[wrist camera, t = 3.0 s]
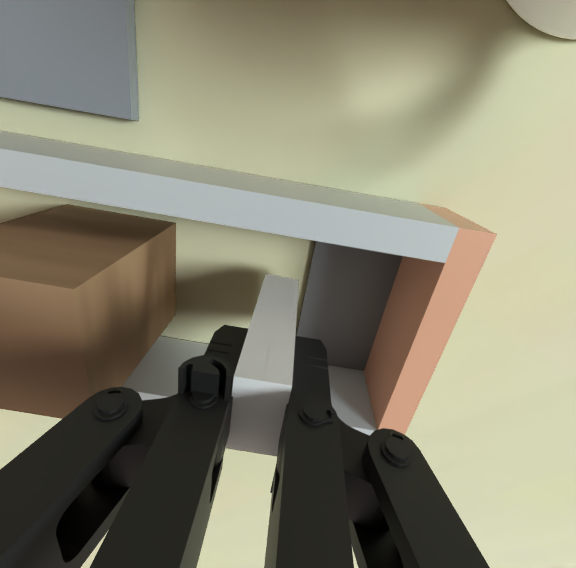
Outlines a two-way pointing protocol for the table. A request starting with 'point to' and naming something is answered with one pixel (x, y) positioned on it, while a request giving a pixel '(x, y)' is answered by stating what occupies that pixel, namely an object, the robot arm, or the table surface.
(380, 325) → the channel
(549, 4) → the mug
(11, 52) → the coaster
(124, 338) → the block
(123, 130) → the table surface
